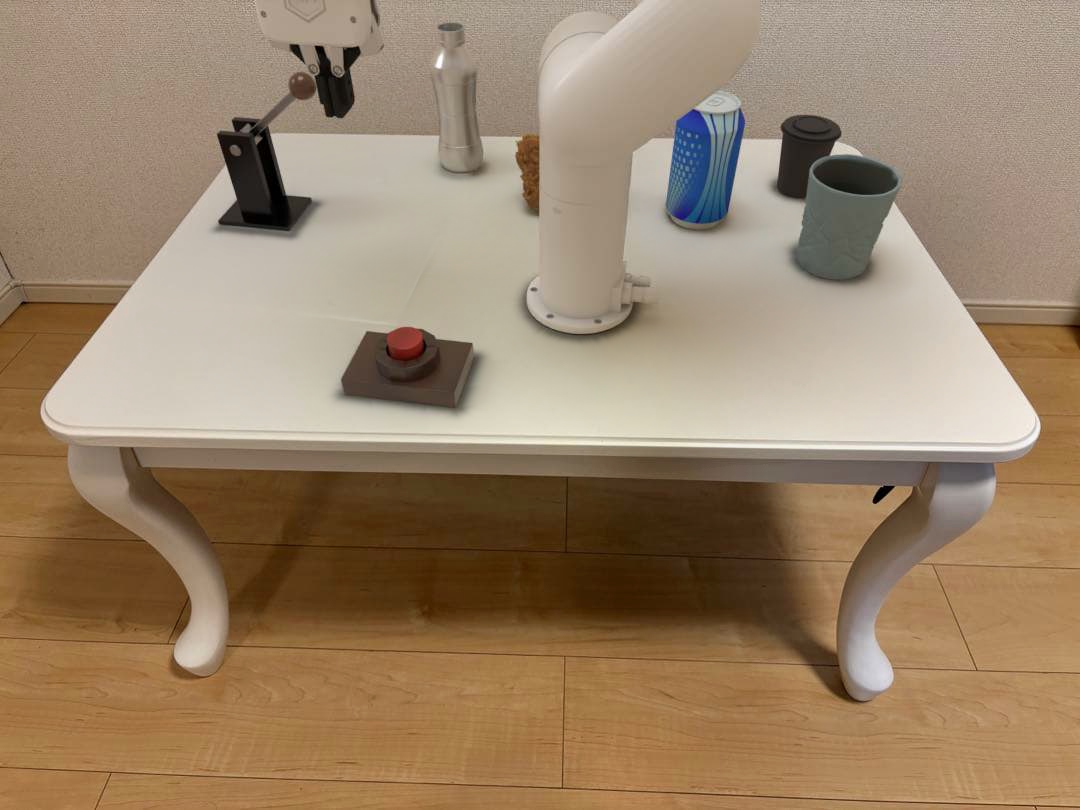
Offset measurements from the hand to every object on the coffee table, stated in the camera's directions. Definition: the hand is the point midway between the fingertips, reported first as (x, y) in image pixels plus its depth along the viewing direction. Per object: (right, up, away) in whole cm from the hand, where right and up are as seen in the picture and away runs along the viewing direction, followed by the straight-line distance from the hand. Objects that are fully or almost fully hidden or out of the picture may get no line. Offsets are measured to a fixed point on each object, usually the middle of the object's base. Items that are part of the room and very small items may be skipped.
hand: (339, 111), depth 75 cm
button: (+6, -23, +4) cm, 24 cm away
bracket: (-18, -3, +30) cm, 35 cm away
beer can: (+41, -3, +30) cm, 51 cm away
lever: (-12, +6, +20) cm, 24 cm away
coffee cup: (+57, +2, +35) cm, 67 cm away
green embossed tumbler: (+56, -11, +22) cm, 62 cm away
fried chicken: (+23, -1, +32) cm, 40 cm away
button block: (+6, -26, +7) cm, 27 cm away
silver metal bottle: (+8, +7, +40) cm, 41 cm away
